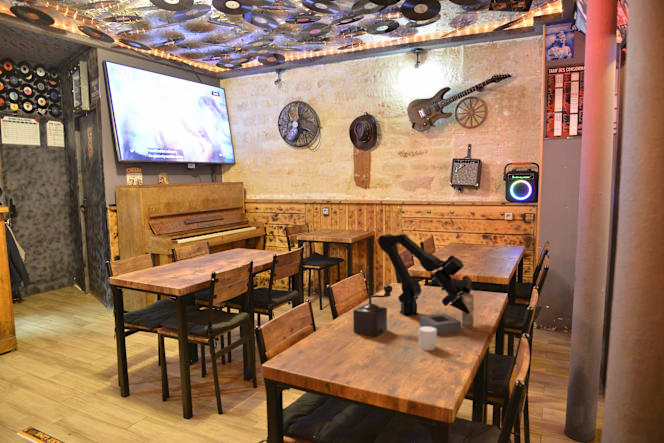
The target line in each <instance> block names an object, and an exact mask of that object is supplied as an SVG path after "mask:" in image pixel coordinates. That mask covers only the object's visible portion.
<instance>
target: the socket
mask: <svg viewBox="0 0 664 443" xmlns="http://www.w3.org/2000/svg"><path fill="white" fill-rule="evenodd" d="M422 326H431V327H434V328H436V329H437V334H436V336H437V335H444V334H450V333H453V334H454V333H459V332H462V321H461V320H458V319H457V318H455V317H453V316H451V315H449V314H447V313H446V312H443V313H435V314H425V315H419V327H422Z"/></svg>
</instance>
